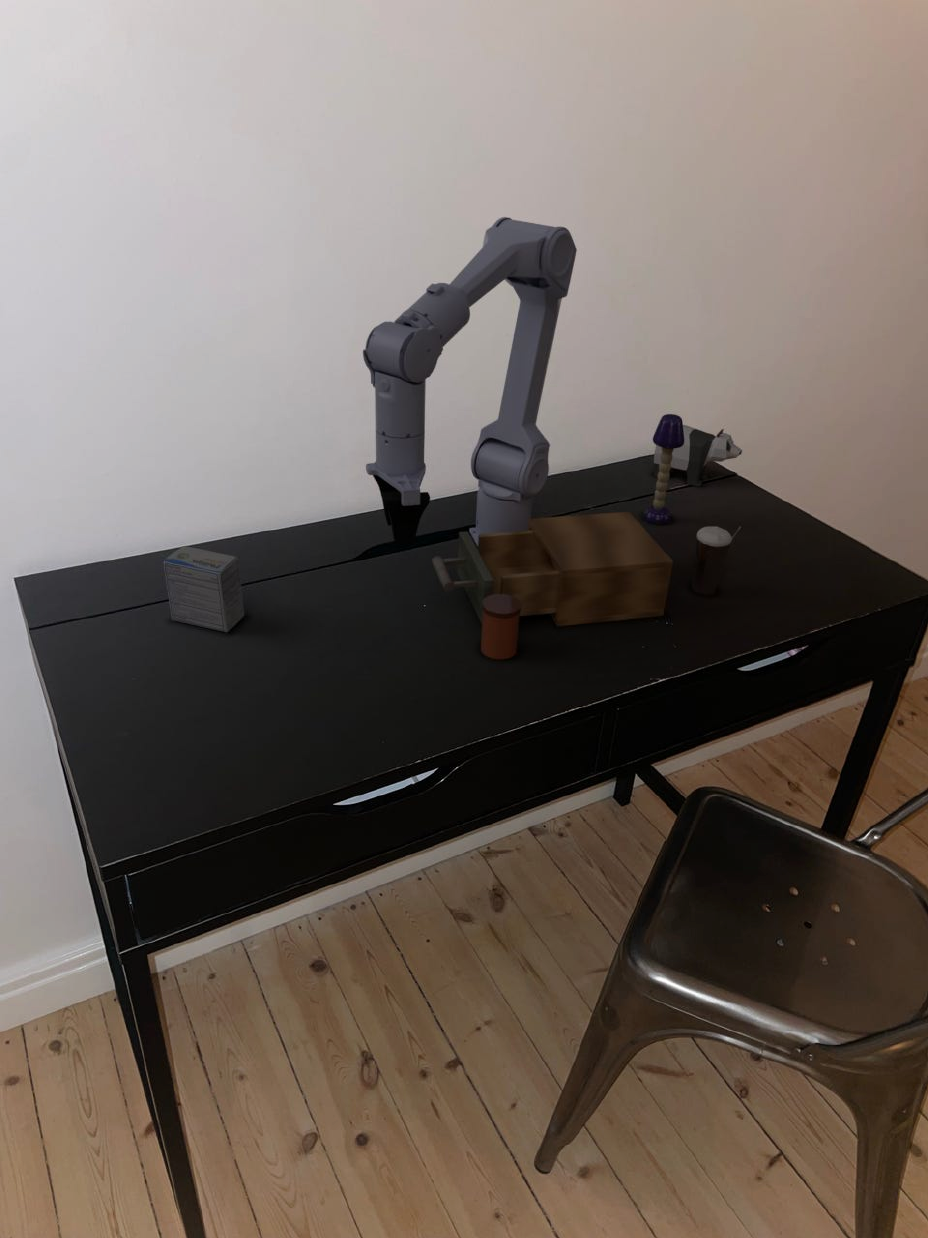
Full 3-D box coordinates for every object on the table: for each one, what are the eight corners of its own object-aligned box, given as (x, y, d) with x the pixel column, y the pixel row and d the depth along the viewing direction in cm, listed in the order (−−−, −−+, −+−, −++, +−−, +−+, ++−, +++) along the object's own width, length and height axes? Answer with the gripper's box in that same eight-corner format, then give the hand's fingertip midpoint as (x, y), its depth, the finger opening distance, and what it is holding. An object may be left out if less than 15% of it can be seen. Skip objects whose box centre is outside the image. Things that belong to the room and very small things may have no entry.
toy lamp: (673, 526, 147) (691, 422, 138) (643, 525, 147) (659, 421, 138) (668, 513, 151) (685, 411, 142) (638, 511, 151) (653, 410, 142)
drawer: (448, 628, 118) (449, 584, 115) (426, 576, 129) (427, 534, 126) (584, 615, 122) (589, 572, 119) (551, 565, 133) (555, 524, 130)
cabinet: (556, 626, 121) (562, 570, 117) (523, 571, 133) (528, 518, 129) (663, 616, 124) (673, 561, 120) (621, 562, 136) (629, 511, 132)
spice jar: (485, 661, 114) (488, 615, 110) (475, 641, 118) (478, 595, 114) (522, 658, 115) (526, 611, 111) (511, 637, 119) (515, 592, 115)
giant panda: (645, 475, 164) (653, 421, 159) (656, 464, 168) (664, 412, 163) (729, 495, 158) (740, 440, 153) (738, 483, 162) (749, 430, 157)
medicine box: (245, 617, 120) (239, 556, 116) (226, 634, 117) (220, 572, 112) (190, 604, 122) (183, 544, 118) (170, 621, 119) (161, 559, 114)
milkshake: (727, 600, 128) (741, 534, 123) (686, 595, 129) (699, 528, 124) (726, 584, 132) (740, 519, 127) (686, 579, 133) (699, 514, 128)
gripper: (357, 409, 116) (359, 511, 123) (376, 455, 104) (377, 564, 112) (414, 407, 118) (412, 507, 125) (439, 451, 106) (436, 559, 113)
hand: (399, 534), depth 118 cm, fingers open, 5 cm apart
